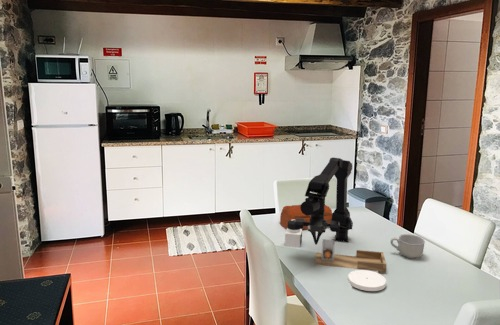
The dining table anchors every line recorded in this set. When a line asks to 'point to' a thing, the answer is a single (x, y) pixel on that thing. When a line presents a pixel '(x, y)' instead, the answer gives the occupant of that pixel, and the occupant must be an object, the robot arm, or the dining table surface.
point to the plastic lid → (367, 280)
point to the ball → (327, 254)
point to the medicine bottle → (293, 235)
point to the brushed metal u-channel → (328, 246)
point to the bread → (300, 215)
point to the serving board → (357, 261)
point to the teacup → (409, 245)
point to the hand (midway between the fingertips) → (316, 244)
